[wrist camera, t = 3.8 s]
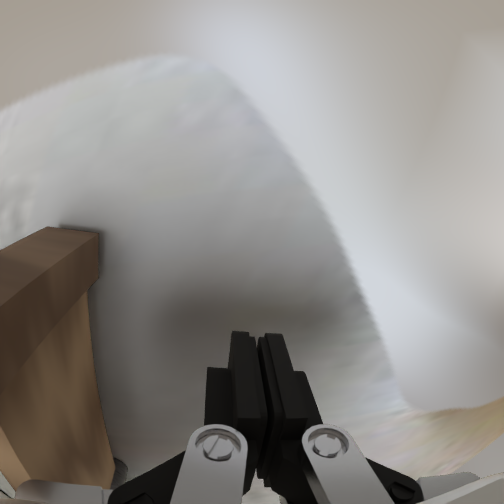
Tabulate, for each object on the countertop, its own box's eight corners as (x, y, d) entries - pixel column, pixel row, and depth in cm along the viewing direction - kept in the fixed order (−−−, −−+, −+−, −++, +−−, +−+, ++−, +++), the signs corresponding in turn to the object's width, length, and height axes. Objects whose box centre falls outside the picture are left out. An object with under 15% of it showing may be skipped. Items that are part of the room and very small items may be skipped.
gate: (122, 466, 15) (102, 567, 8) (87, 457, 15) (59, 553, 7) (98, 233, 11) (-39, 340, 4) (47, 226, 11) (-97, 309, 3)
